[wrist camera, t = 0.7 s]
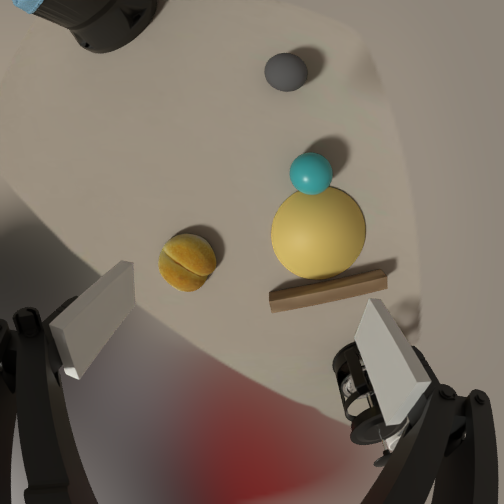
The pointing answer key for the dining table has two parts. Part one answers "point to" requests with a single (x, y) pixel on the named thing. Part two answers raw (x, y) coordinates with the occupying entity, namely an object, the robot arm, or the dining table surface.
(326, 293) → the wall
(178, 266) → the bread roll
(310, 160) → the ball
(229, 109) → the dining table surface
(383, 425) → the french press
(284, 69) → the ball
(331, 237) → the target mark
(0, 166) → the dining table surface
